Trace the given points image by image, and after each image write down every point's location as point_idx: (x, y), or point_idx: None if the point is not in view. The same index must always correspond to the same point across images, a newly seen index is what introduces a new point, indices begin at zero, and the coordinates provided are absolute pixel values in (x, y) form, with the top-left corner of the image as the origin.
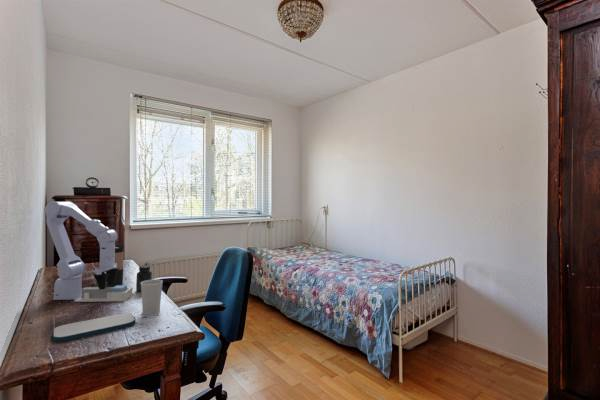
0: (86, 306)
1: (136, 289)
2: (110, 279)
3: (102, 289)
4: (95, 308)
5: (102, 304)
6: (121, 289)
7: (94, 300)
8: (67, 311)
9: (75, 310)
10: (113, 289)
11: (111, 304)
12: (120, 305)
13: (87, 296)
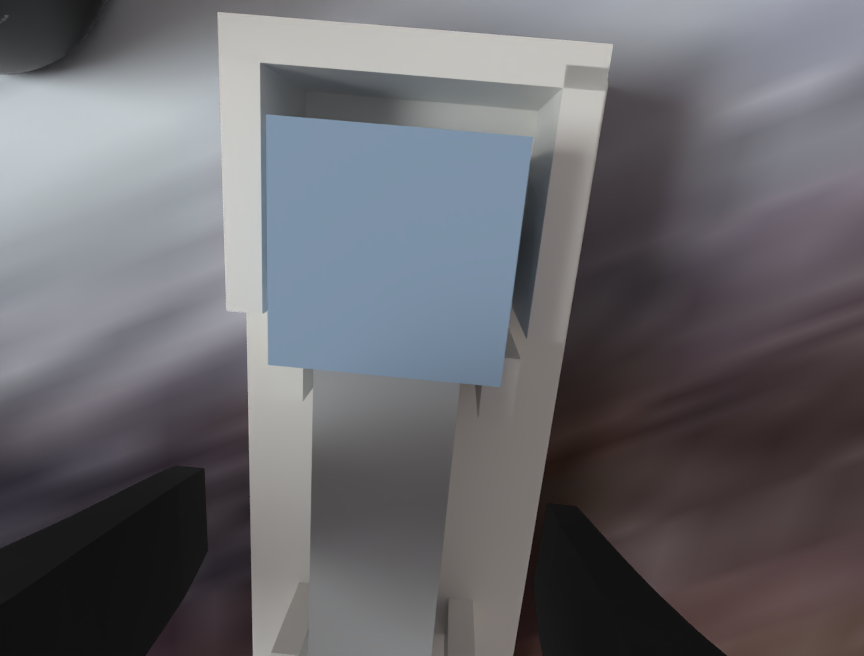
0: (720, 521)
1: (50, 42)
2: (131, 599)
3: (440, 544)
4: (851, 387)
5: (689, 362)
6: (527, 160)
7: (536, 513)
8: (852, 639)
9: (846, 578)
10: (500, 341)
11: (727, 233)
12: (829, 62)
13: (473, 639)
